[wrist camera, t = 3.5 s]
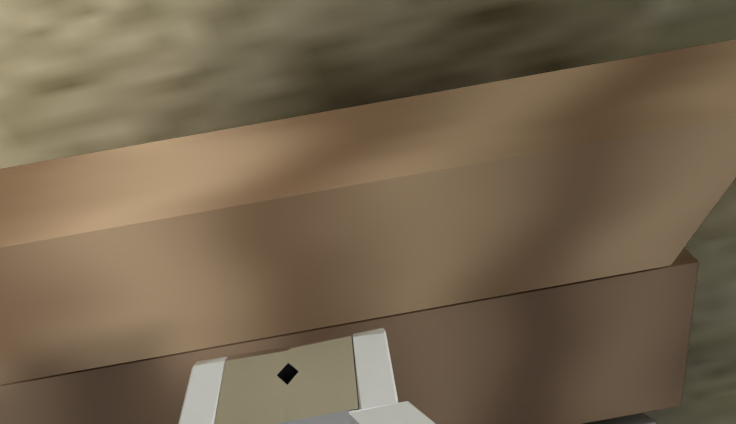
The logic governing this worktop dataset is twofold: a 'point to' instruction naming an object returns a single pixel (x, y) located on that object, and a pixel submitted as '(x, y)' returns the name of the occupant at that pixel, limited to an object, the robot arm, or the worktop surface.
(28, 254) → the smoked oak plank
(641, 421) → the grey plank
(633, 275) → the walnut strip
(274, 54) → the worktop surface
